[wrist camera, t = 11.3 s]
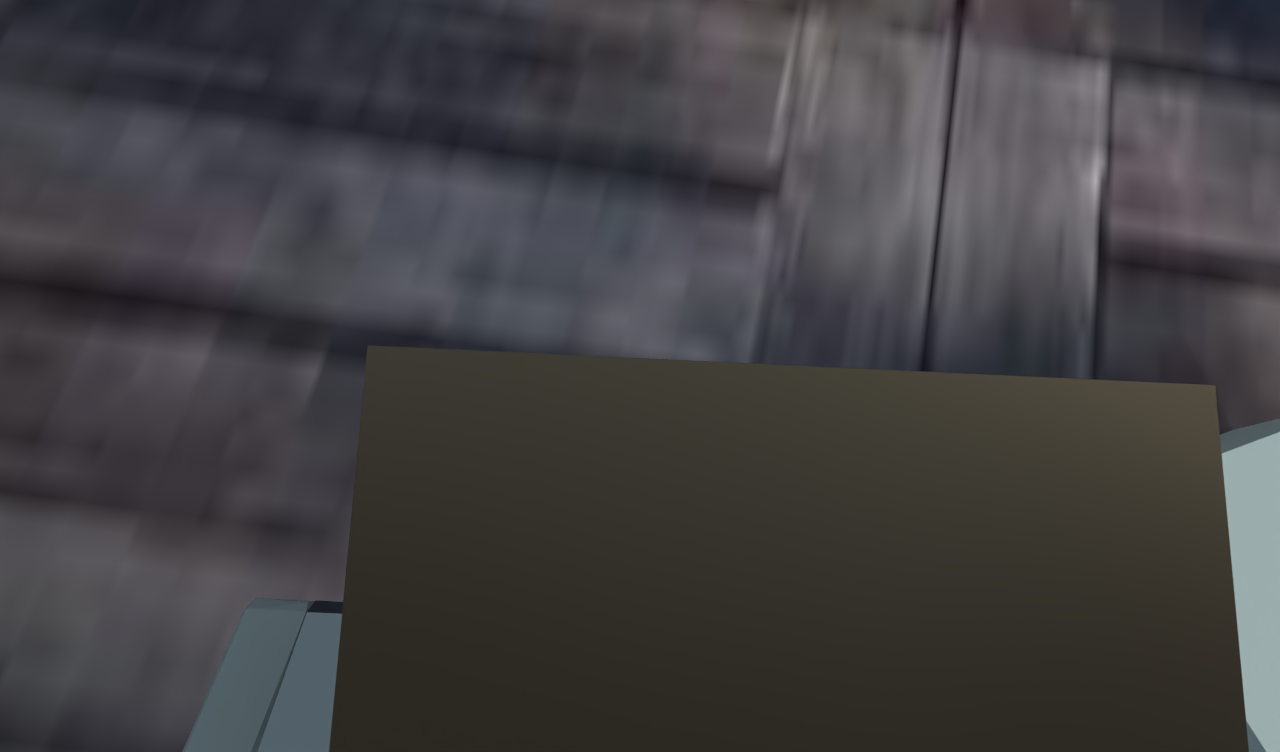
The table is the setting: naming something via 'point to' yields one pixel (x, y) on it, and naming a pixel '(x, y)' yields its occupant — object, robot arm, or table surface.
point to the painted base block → (1256, 567)
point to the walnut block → (782, 561)
